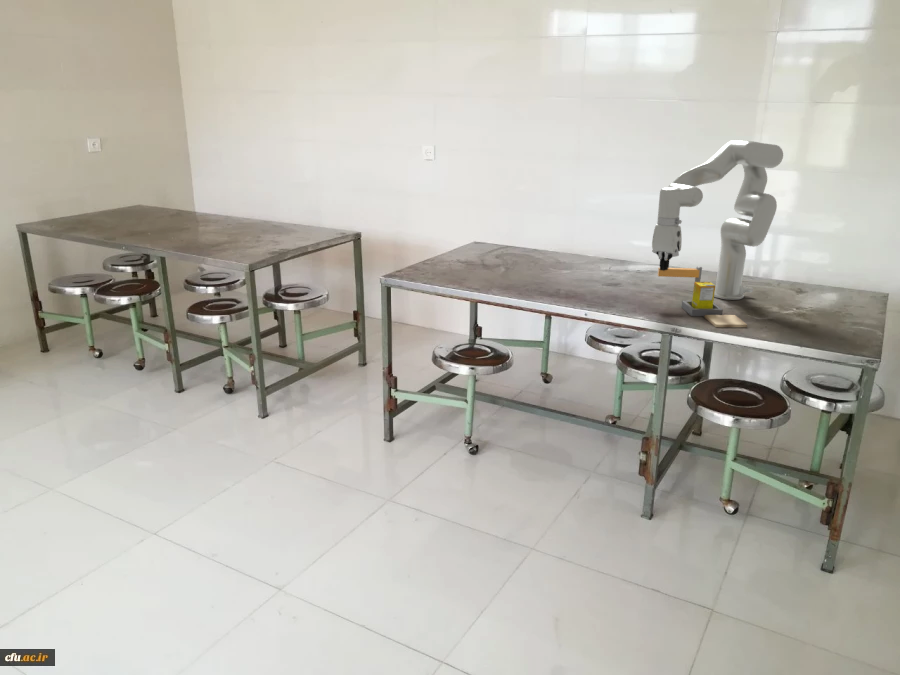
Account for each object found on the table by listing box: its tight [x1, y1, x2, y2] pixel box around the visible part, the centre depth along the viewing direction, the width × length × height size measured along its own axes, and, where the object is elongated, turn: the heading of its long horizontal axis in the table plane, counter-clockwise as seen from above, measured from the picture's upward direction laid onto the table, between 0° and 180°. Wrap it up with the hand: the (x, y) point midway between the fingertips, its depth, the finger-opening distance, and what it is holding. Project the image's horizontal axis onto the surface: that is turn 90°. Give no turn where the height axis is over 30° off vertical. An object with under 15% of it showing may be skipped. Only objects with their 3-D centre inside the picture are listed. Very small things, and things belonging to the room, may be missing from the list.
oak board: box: [703, 314, 748, 328], centre depth 243 cm, size 11×11×1 cm
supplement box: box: [691, 281, 716, 309], centre depth 253 cm, size 6×6×11 cm
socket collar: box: [681, 300, 724, 317], centre depth 255 cm, size 11×11×2 cm
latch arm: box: [657, 266, 703, 282], centre depth 260 cm, size 16×2×15 cm, turn 84°
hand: (663, 269), depth 256 cm, fingers closed
